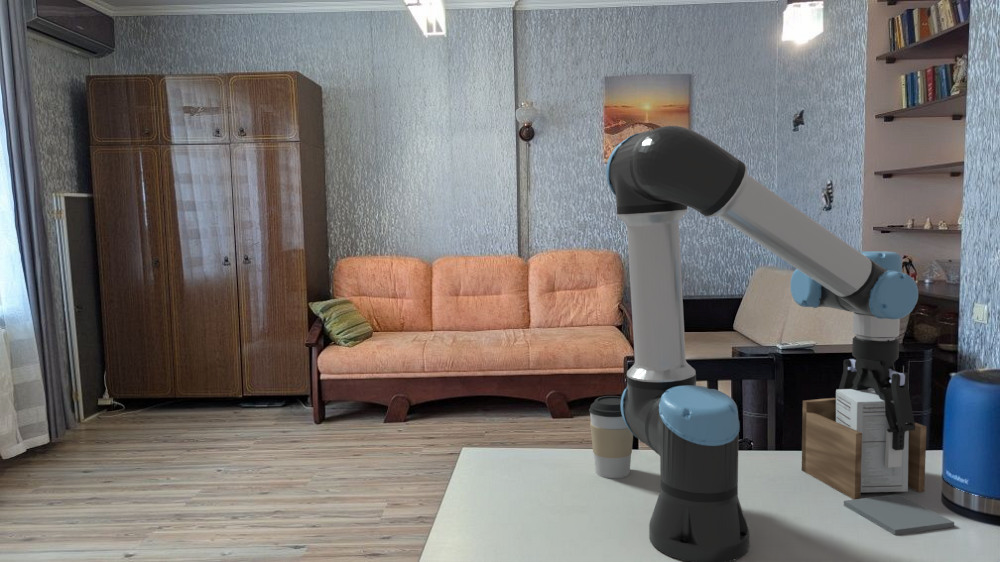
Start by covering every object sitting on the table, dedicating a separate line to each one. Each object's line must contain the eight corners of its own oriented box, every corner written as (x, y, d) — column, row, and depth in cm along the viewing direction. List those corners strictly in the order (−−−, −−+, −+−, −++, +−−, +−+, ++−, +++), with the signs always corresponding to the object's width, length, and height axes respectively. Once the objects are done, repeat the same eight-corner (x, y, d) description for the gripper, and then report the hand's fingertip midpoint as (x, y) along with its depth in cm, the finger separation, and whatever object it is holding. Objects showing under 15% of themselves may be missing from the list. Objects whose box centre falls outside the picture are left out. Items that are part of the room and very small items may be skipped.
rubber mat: (894, 534, 115) (895, 530, 115) (843, 505, 126) (843, 500, 126) (954, 526, 117) (954, 522, 117) (898, 498, 129) (898, 494, 129)
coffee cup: (585, 478, 142) (585, 402, 140) (593, 462, 151) (592, 391, 149) (632, 482, 139) (632, 405, 138) (638, 466, 148) (637, 393, 146)
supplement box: (884, 473, 139) (886, 387, 137) (909, 492, 130) (912, 399, 128) (833, 474, 139) (834, 388, 137) (854, 493, 130) (856, 401, 128)
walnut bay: (854, 499, 129) (856, 422, 127) (801, 470, 143) (802, 400, 142) (924, 491, 132) (926, 415, 130) (865, 463, 146) (867, 395, 145)
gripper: (943, 347, 121) (938, 476, 124) (851, 326, 144) (847, 436, 146) (905, 349, 120) (899, 480, 122) (817, 328, 142) (814, 439, 144)
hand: (871, 456), depth 134 cm, fingers closed on supplement box, 10 cm apart
